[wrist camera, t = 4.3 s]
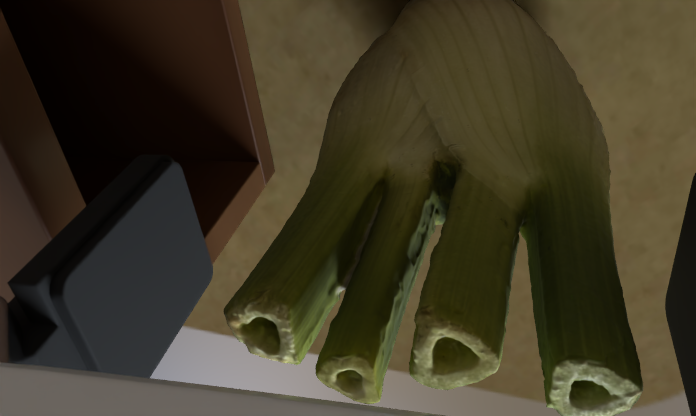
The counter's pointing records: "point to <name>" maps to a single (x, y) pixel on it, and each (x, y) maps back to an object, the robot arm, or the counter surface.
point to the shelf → (123, 112)
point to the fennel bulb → (452, 218)
